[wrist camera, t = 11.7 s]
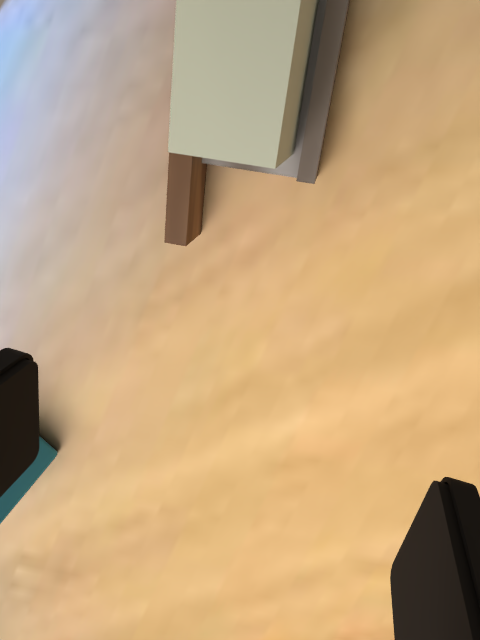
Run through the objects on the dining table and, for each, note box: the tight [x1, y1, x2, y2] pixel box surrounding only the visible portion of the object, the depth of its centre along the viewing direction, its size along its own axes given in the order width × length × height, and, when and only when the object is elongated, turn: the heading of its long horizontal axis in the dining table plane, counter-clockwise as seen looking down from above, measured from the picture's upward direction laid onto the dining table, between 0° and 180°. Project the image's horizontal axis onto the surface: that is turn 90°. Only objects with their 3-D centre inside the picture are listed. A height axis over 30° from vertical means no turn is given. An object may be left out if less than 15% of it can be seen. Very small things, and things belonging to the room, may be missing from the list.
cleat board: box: [165, 0, 350, 246], centre depth 30 cm, size 10×20×4 cm, turn 173°
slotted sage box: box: [168, 0, 319, 169], centre depth 25 cm, size 6×10×10 cm, turn 173°
